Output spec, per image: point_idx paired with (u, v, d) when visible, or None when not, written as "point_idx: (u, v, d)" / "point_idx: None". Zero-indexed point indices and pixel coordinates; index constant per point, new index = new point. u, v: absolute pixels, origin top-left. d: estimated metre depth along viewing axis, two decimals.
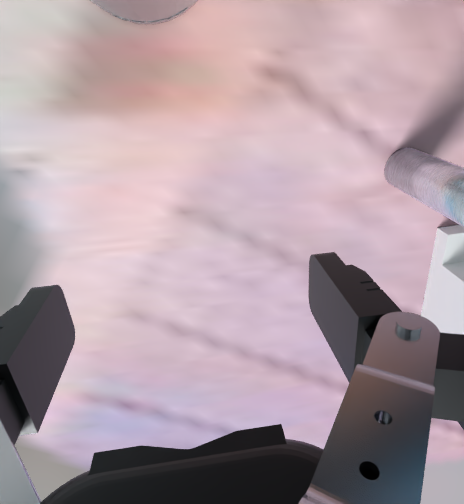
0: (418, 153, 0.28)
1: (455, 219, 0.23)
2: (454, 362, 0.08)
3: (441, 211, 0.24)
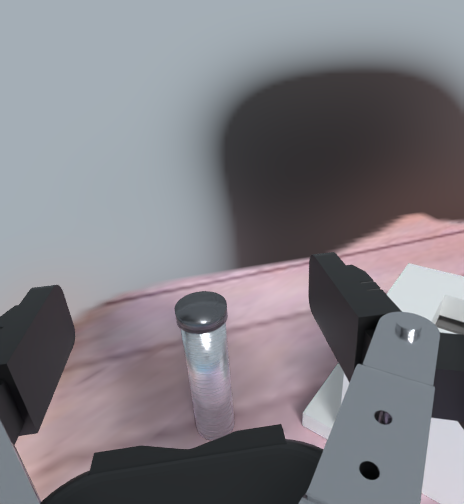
0: None
1: (201, 359, 0.26)
2: (454, 362, 0.08)
3: (203, 374, 0.26)
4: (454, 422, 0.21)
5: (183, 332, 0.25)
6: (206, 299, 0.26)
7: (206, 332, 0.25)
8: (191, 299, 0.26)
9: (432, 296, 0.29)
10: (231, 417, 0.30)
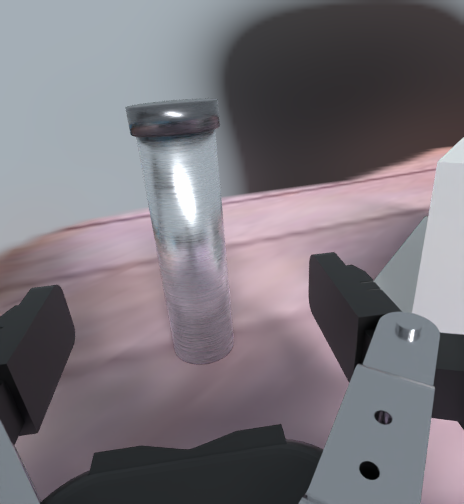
0: None
1: (174, 199, 0.15)
2: (454, 362, 0.08)
3: (179, 231, 0.15)
4: None
5: (141, 148, 0.14)
6: (182, 101, 0.15)
7: (181, 134, 0.14)
8: (157, 103, 0.15)
9: None
10: (229, 327, 0.19)
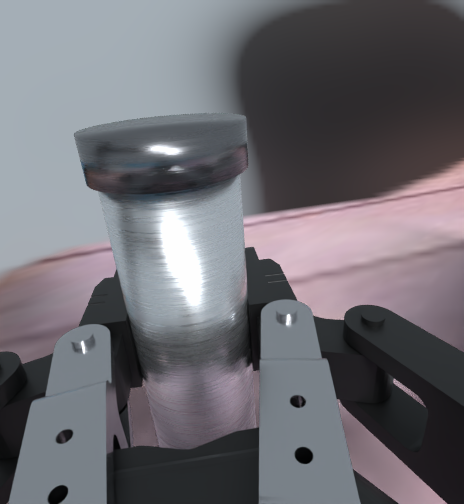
0: None
1: (166, 300, 0.08)
2: (324, 344, 0.08)
3: (175, 349, 0.09)
4: None
5: (105, 208, 0.08)
6: (181, 119, 0.09)
7: (179, 189, 0.07)
8: (137, 121, 0.09)
9: None
10: None
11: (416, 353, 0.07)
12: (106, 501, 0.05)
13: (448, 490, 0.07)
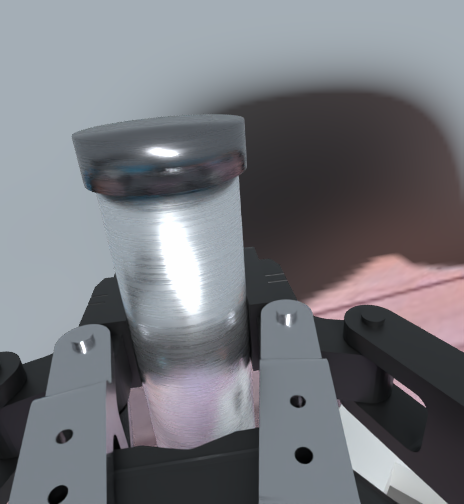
0: None
1: (164, 301, 0.08)
2: (324, 344, 0.08)
3: (173, 351, 0.09)
4: None
5: (103, 210, 0.08)
6: (179, 119, 0.09)
7: (177, 190, 0.07)
8: (135, 123, 0.09)
9: (377, 465, 0.19)
10: None
11: (416, 353, 0.07)
12: (106, 501, 0.05)
13: (448, 490, 0.07)
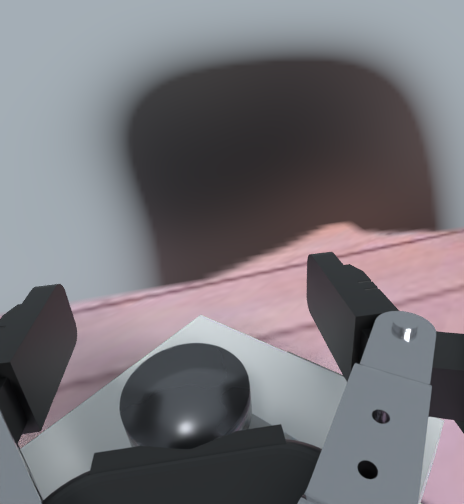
0: None
1: None
2: (450, 361, 0.08)
3: None
4: None
5: None
6: (197, 368, 0.11)
7: None
8: (162, 368, 0.11)
9: None
10: None
11: None
12: None
13: None
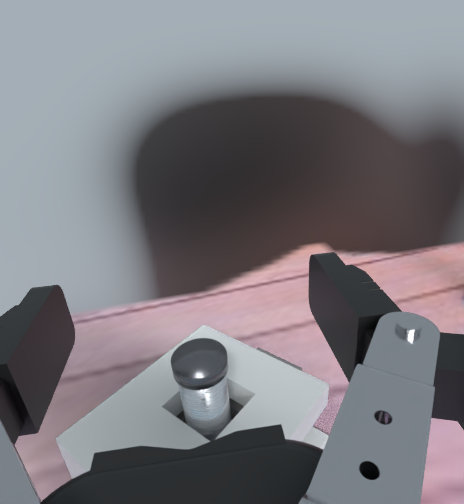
0: None
1: (201, 415, 0.24)
2: (454, 362, 0.08)
3: (204, 429, 0.24)
4: None
5: (181, 387, 0.23)
6: (204, 348, 0.24)
7: (207, 387, 0.23)
8: (188, 349, 0.24)
9: None
10: None
11: None
12: None
13: None
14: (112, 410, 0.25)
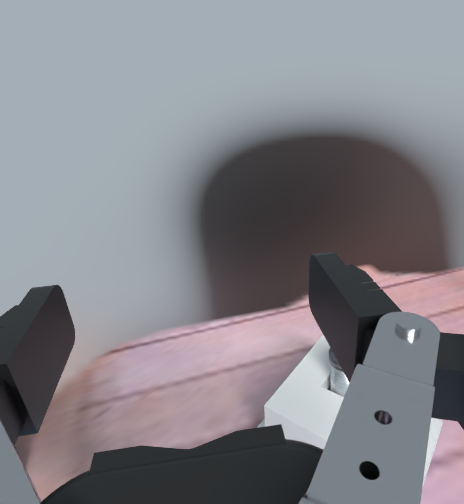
0: None
1: None
2: (454, 362, 0.08)
3: None
4: None
5: (337, 371, 0.39)
6: None
7: None
8: None
9: None
10: None
11: None
12: None
13: None
14: (290, 389, 0.41)
